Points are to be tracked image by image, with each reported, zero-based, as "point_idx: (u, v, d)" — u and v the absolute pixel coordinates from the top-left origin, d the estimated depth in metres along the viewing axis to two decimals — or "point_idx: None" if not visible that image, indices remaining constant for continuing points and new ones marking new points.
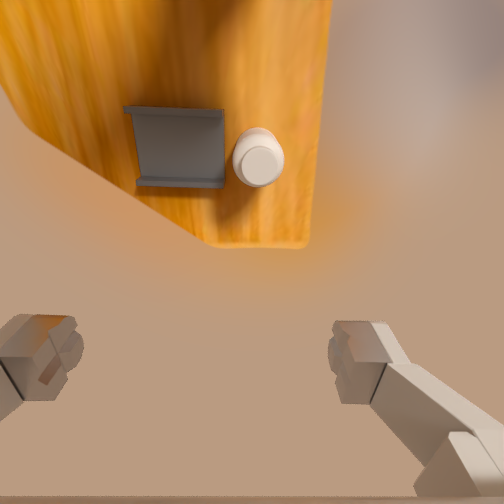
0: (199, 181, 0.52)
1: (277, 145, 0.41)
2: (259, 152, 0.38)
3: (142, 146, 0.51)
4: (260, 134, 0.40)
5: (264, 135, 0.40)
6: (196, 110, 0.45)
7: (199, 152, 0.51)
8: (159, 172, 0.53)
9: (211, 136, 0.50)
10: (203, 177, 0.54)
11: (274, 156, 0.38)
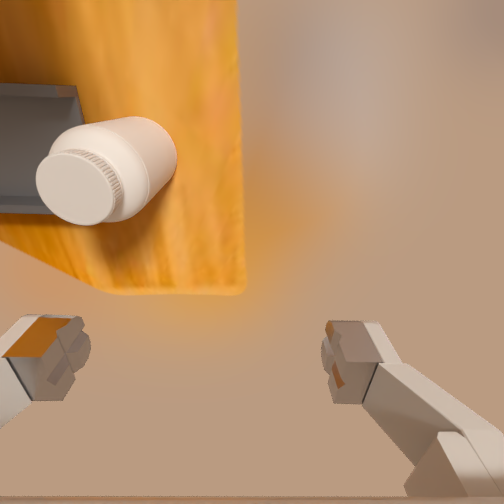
0: None
1: (124, 147, 0.21)
2: (64, 162, 0.18)
3: None
4: (89, 126, 0.21)
5: (96, 128, 0.21)
6: (9, 85, 0.26)
7: None
8: None
9: (63, 131, 0.31)
10: None
11: (98, 170, 0.19)
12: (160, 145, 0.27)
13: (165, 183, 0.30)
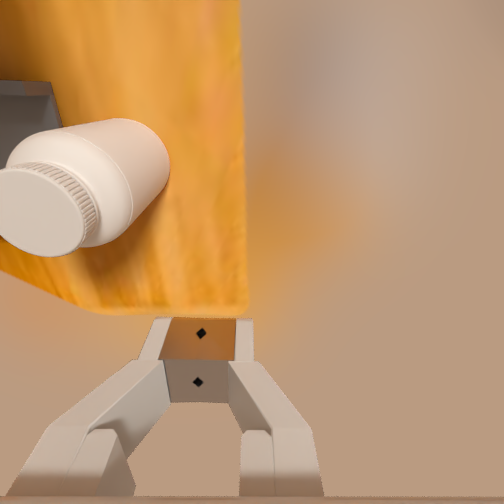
0: None
1: (99, 159, 0.17)
2: (17, 181, 0.14)
3: None
4: (55, 132, 0.17)
5: (64, 135, 0.17)
6: None
7: None
8: None
9: None
10: None
11: (62, 191, 0.15)
12: (149, 153, 0.23)
13: None
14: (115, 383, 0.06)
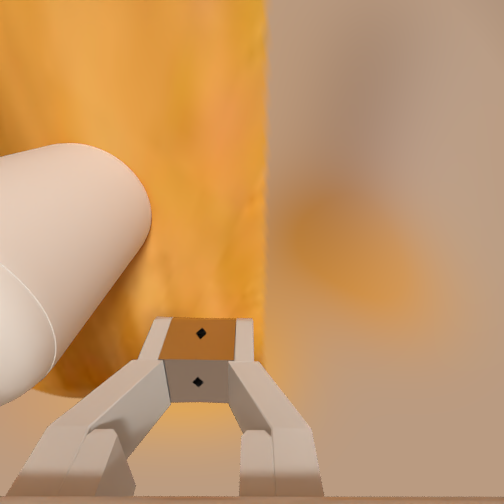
0: None
1: None
2: None
3: None
4: None
5: None
6: None
7: None
8: None
9: None
10: None
11: None
12: (108, 208, 0.13)
13: (126, 266, 0.16)
14: (115, 383, 0.06)
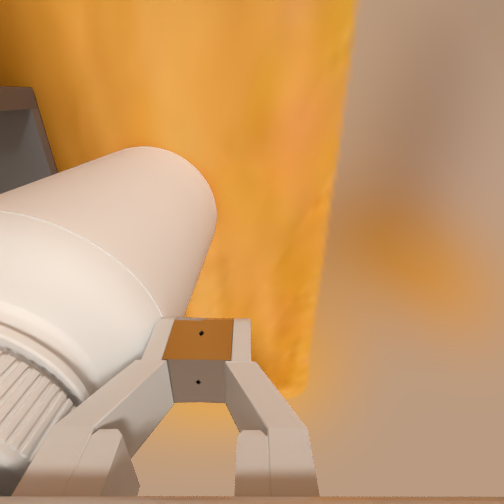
0: None
1: (98, 278, 0.07)
2: None
3: None
4: None
5: (14, 221, 0.07)
6: None
7: None
8: None
9: (13, 171, 0.17)
10: None
11: None
12: (193, 214, 0.13)
13: None
14: (119, 383, 0.06)
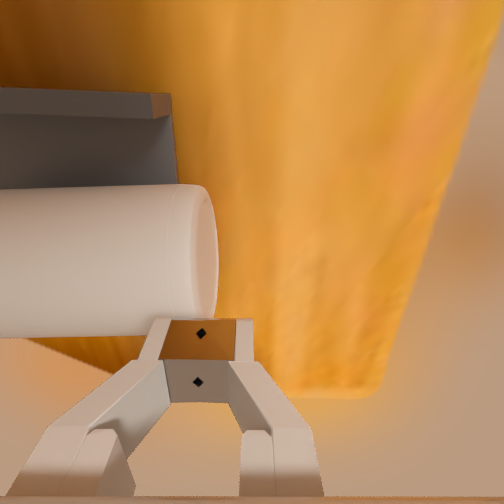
0: None
1: None
2: None
3: None
4: None
5: None
6: (53, 94, 0.12)
7: None
8: None
9: (139, 175, 0.17)
10: None
11: None
12: (80, 310, 0.12)
13: None
14: (115, 383, 0.06)
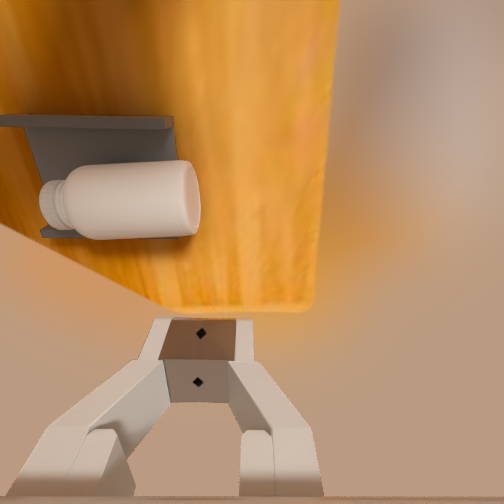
0: None
1: (65, 205, 0.26)
2: None
3: (50, 176, 0.32)
4: (72, 176, 0.27)
5: (68, 181, 0.27)
6: (120, 119, 0.27)
7: None
8: None
9: (156, 159, 0.32)
10: None
11: (41, 209, 0.28)
12: (134, 214, 0.26)
13: None
14: (115, 383, 0.06)
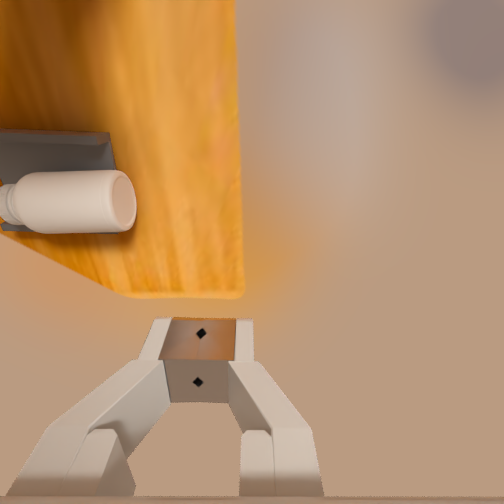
0: None
1: (14, 205, 0.33)
2: None
3: (9, 179, 0.39)
4: (20, 181, 0.33)
5: (17, 185, 0.33)
6: (60, 136, 0.33)
7: None
8: None
9: (97, 167, 0.38)
10: None
11: None
12: (70, 214, 0.33)
13: None
14: (115, 383, 0.06)
